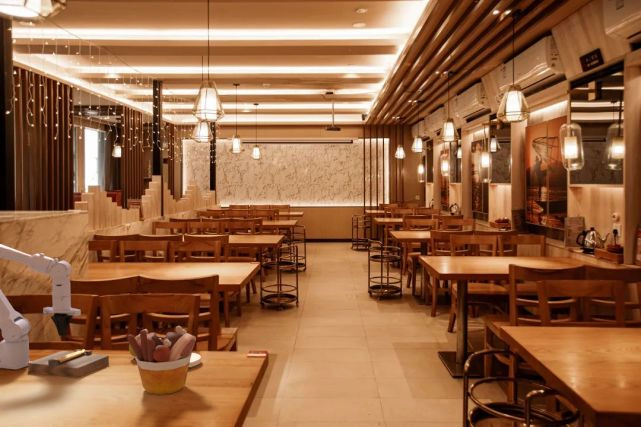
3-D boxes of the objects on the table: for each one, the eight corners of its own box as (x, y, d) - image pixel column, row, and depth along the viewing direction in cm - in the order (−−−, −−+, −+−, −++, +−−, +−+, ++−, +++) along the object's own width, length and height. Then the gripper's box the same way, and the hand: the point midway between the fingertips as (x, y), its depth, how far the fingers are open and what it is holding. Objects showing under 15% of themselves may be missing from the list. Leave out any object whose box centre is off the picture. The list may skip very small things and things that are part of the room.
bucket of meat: (164, 376, 180) (163, 314, 179) (206, 383, 173) (205, 319, 172) (117, 396, 162) (116, 328, 161) (161, 405, 154) (160, 334, 154)
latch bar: (53, 362, 184) (53, 359, 184) (80, 352, 196) (80, 349, 196) (60, 363, 183) (60, 360, 183) (87, 353, 195) (87, 350, 195)
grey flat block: (28, 371, 185) (28, 358, 185) (62, 359, 199) (62, 346, 199) (76, 377, 179) (76, 363, 178) (108, 364, 193) (108, 350, 193)
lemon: (140, 360, 196) (139, 338, 196) (126, 360, 198) (125, 337, 197) (148, 356, 202) (147, 334, 202) (134, 355, 203) (133, 333, 203)
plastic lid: (186, 357, 202) (186, 350, 202) (209, 365, 192) (208, 357, 192) (151, 365, 192) (151, 358, 192) (173, 374, 182) (172, 367, 182)
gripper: (35, 297, 192) (36, 336, 192) (69, 299, 187) (70, 339, 188) (51, 293, 199) (52, 331, 199) (84, 295, 194) (85, 334, 194)
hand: (62, 335), depth 194 cm, fingers closed
